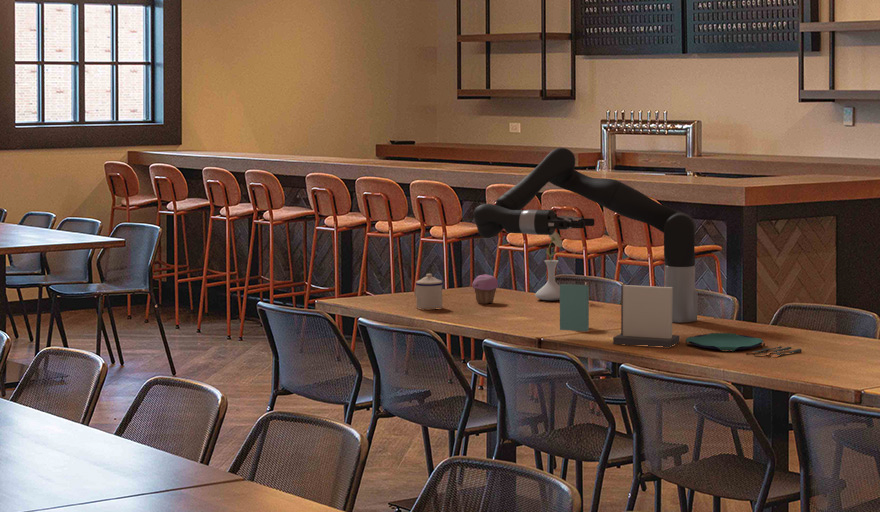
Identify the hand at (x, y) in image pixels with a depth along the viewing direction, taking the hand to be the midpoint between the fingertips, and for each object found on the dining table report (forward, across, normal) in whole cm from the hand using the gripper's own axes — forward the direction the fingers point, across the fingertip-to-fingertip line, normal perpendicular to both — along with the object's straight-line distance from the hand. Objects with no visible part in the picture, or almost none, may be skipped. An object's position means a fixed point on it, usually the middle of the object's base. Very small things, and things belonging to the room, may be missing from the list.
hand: (589, 223), depth 363 cm
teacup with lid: (-66, +25, +32) cm, 78 cm away
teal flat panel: (0, -13, +29) cm, 32 cm away
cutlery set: (+46, -11, +33) cm, 58 cm away
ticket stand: (+21, -13, +32) cm, 41 cm away
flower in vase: (-34, +58, +32) cm, 75 cm away
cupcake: (-52, +42, +32) cm, 75 cm away
